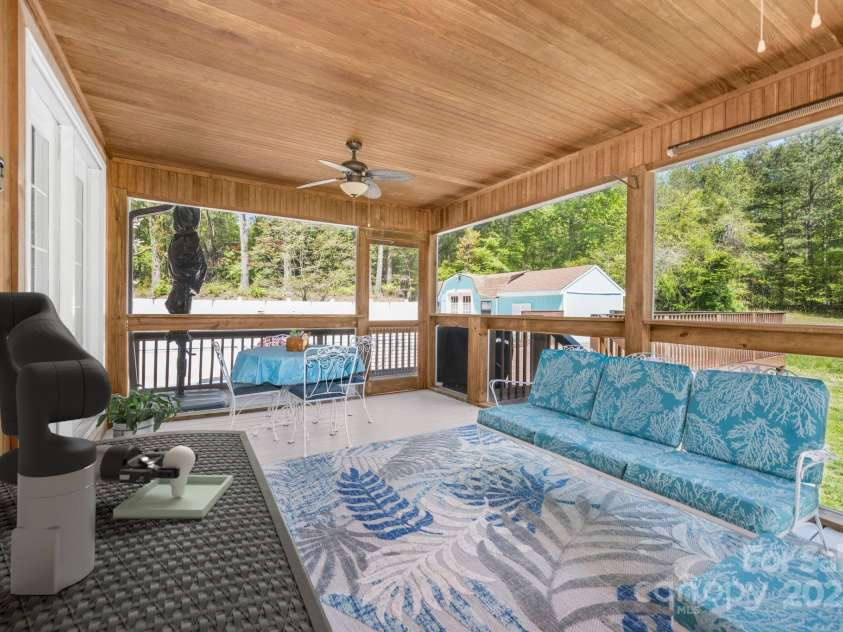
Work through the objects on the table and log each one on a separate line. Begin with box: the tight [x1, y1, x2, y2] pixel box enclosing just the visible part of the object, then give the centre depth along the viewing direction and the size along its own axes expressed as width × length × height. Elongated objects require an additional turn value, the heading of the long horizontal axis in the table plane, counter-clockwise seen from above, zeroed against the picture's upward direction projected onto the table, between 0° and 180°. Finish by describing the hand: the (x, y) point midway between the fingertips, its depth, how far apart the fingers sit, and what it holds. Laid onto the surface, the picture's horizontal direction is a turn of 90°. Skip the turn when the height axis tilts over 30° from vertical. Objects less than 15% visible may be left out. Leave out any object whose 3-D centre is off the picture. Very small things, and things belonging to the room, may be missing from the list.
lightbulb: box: [163, 445, 196, 498], centre depth 93 cm, size 6×6×11 cm
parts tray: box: [112, 474, 234, 520], centre depth 93 cm, size 17×17×2 cm
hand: (188, 464), depth 93 cm, fingers open, 8 cm apart
